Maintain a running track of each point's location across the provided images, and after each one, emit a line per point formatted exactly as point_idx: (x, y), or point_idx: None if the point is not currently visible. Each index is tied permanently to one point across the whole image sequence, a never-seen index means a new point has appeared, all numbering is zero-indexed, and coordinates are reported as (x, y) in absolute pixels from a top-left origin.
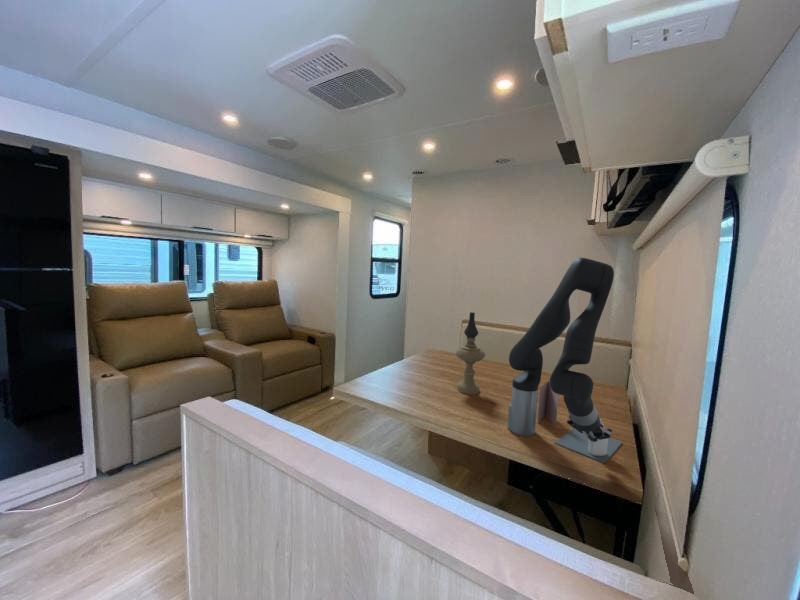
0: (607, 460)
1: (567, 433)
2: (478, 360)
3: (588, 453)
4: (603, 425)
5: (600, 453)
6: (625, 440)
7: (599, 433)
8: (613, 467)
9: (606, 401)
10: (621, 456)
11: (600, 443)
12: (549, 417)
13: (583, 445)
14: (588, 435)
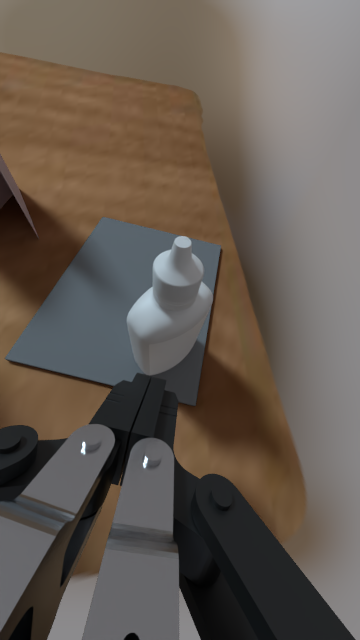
0: (199, 374)
1: (70, 267)
2: None
3: (136, 369)
4: (202, 278)
5: (177, 361)
6: (223, 233)
7: (206, 560)
8: (223, 414)
9: (169, 118)
10: (230, 318)
11: (179, 348)
12: (23, 201)
13: (120, 319)
14: (92, 514)
